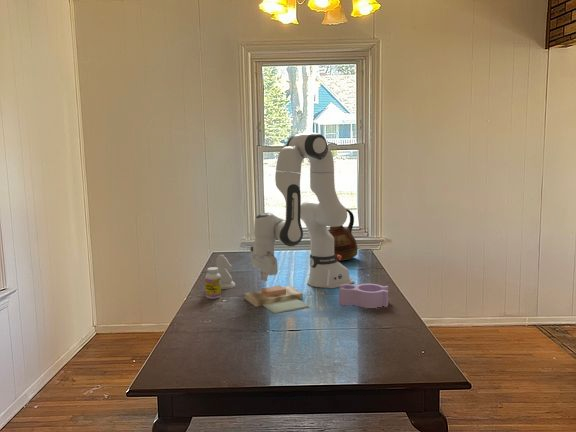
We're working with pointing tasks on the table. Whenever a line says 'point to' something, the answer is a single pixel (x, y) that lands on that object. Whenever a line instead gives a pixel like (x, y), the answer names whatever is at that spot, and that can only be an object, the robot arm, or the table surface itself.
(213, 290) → the supplement bottle
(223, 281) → the chess piece
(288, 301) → the mat
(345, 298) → the clip
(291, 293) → the beige flat block
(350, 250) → the ceramic pitcher
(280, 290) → the tile
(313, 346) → the table surface
